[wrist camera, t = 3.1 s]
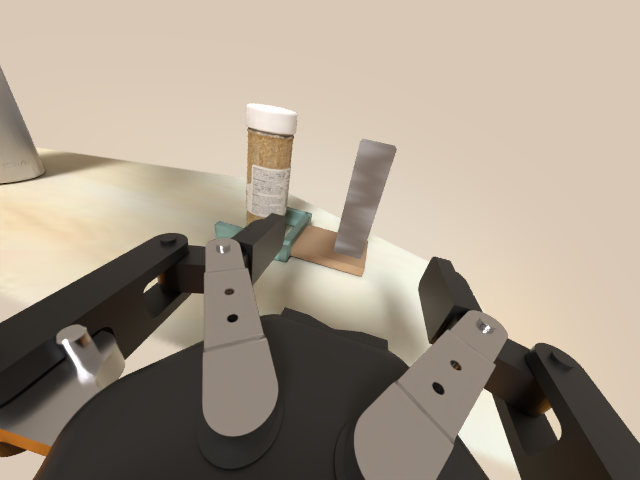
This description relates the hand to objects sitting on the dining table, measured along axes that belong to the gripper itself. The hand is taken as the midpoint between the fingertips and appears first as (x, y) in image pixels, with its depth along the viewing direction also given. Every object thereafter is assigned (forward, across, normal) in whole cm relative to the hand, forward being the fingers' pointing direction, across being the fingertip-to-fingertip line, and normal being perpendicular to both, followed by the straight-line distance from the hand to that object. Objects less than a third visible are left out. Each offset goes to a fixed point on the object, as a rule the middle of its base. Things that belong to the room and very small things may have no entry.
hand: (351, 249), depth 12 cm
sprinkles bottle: (+11, +10, +8) cm, 17 cm away
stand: (+11, +6, +8) cm, 15 cm away
